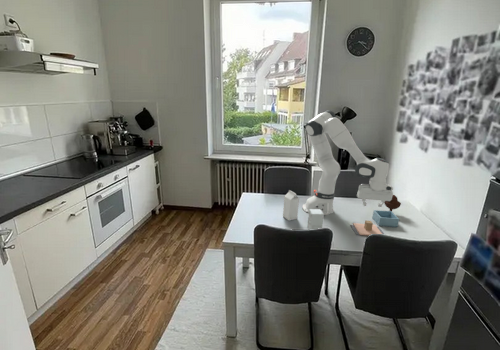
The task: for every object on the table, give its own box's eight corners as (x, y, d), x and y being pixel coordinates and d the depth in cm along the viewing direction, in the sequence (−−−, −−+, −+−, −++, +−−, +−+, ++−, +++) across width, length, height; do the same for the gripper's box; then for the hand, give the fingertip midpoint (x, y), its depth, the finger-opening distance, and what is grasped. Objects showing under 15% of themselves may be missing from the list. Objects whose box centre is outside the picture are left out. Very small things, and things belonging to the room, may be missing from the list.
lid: (359, 234, 169) (361, 226, 167) (353, 224, 182) (354, 216, 181) (383, 236, 168) (384, 227, 167) (374, 225, 182) (376, 217, 180)
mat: (356, 234, 170) (356, 233, 170) (350, 225, 182) (350, 224, 181) (385, 236, 169) (386, 235, 169) (378, 227, 181) (378, 226, 181)
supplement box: (318, 227, 178) (320, 209, 174) (321, 232, 171) (324, 214, 167) (307, 226, 178) (309, 208, 174) (309, 232, 170) (311, 213, 167)
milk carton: (288, 220, 185) (291, 194, 179) (282, 216, 190) (284, 190, 185) (297, 219, 188) (300, 192, 182) (291, 214, 194) (293, 189, 188)
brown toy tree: (400, 218, 196) (404, 198, 192) (383, 216, 198) (387, 196, 194) (396, 211, 206) (400, 193, 201) (380, 210, 208) (383, 191, 204)
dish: (378, 226, 183) (380, 217, 181) (372, 217, 194) (373, 210, 192) (397, 227, 182) (399, 219, 180) (389, 219, 194) (391, 211, 192)
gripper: (361, 185, 164) (356, 206, 168) (396, 188, 164) (390, 209, 168) (357, 181, 170) (353, 202, 174) (391, 184, 170) (386, 205, 174)
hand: (372, 206), depth 171 cm, fingers open, 8 cm apart
